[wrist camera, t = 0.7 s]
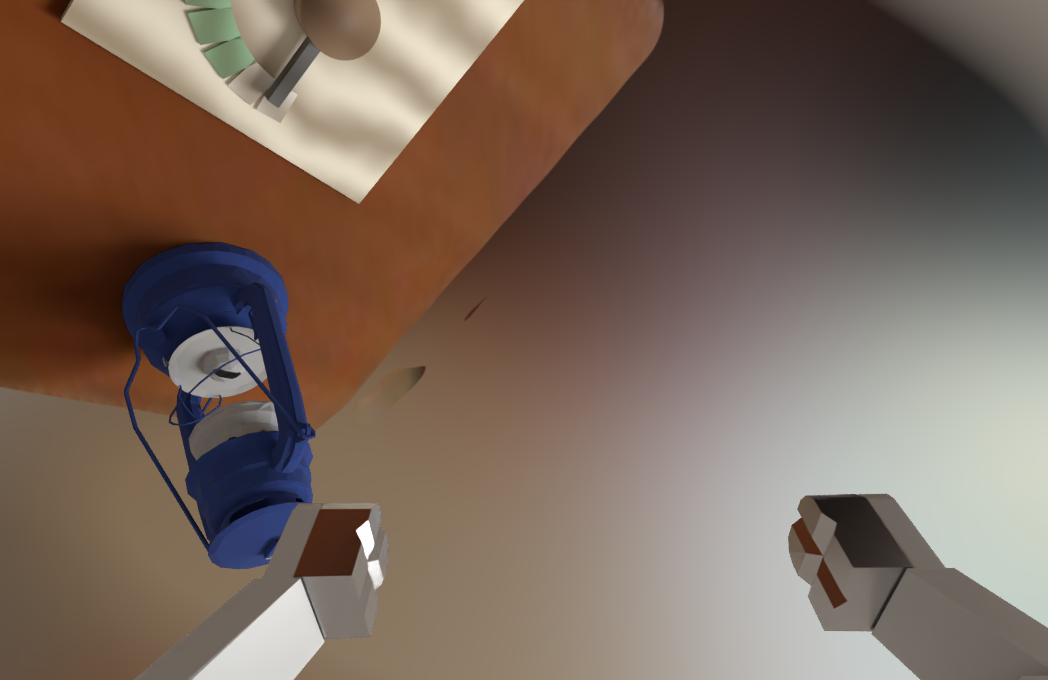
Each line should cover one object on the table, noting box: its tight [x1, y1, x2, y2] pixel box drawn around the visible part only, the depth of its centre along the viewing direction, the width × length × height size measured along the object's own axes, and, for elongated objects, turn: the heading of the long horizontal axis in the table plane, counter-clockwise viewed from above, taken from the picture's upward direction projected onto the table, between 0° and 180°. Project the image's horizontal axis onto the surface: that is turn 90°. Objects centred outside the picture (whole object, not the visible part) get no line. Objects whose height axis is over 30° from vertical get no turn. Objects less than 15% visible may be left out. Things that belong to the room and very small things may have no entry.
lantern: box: [122, 243, 315, 569], centre depth 50 cm, size 17×15×30 cm
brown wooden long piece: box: [265, 0, 381, 108], centre depth 42 cm, size 22×6×9 cm, turn 128°
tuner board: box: [61, 0, 524, 204], centre depth 46 cm, size 26×26×1 cm
